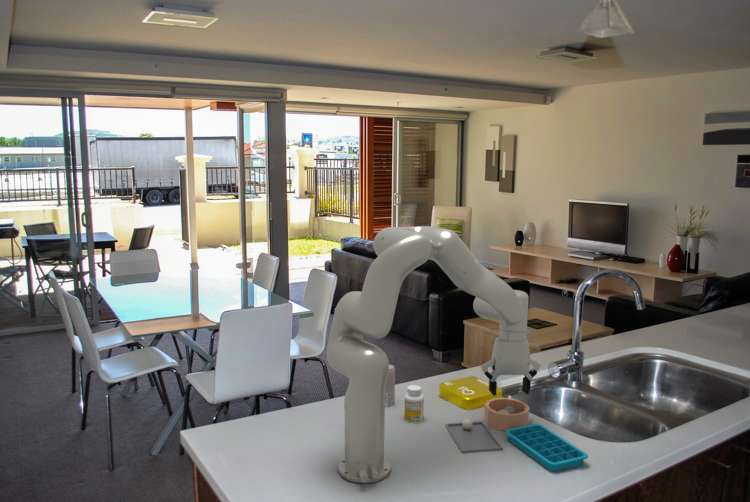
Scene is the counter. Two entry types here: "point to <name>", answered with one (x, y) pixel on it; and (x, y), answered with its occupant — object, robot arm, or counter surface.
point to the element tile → (467, 392)
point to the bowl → (506, 420)
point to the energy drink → (390, 387)
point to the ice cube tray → (546, 447)
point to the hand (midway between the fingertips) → (509, 393)
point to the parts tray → (473, 438)
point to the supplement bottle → (414, 404)
